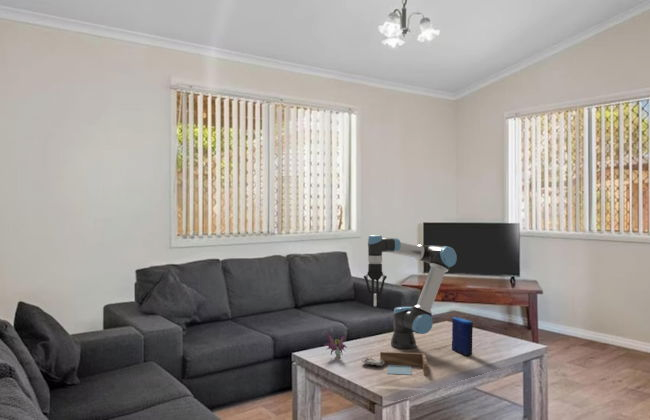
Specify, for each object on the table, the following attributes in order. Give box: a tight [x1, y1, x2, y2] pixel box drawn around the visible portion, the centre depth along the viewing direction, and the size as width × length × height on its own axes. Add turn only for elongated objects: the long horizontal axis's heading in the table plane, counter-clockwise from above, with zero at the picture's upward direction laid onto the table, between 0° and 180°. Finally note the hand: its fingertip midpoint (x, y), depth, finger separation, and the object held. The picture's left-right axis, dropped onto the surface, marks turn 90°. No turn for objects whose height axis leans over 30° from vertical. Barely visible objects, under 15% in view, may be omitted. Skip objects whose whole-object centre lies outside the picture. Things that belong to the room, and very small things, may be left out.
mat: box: [387, 364, 413, 376], centre depth 248 cm, size 14×12×1 cm
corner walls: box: [379, 351, 428, 377], centre depth 250 cm, size 18×24×6 cm
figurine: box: [323, 331, 348, 360], centre depth 269 cm, size 14×8×15 cm, turn 74°
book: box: [451, 316, 474, 356], centre depth 279 cm, size 14×5×20 cm, turn 22°
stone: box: [361, 357, 385, 367], centre depth 256 cm, size 12×9×3 cm
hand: (375, 305), depth 267 cm, fingers closed
